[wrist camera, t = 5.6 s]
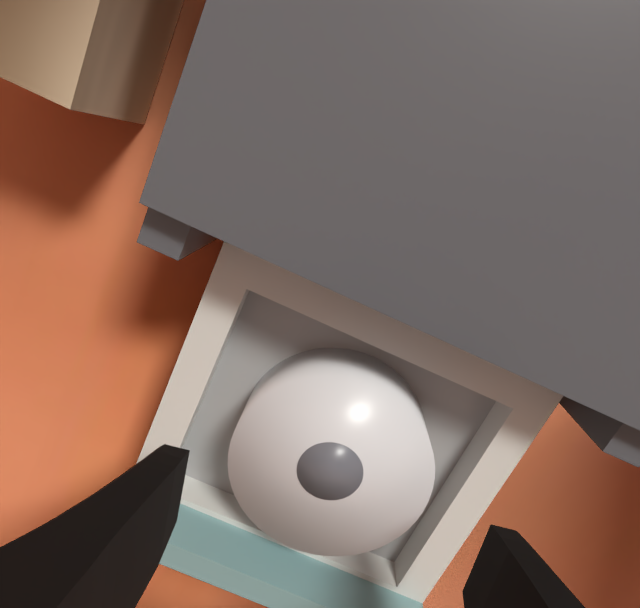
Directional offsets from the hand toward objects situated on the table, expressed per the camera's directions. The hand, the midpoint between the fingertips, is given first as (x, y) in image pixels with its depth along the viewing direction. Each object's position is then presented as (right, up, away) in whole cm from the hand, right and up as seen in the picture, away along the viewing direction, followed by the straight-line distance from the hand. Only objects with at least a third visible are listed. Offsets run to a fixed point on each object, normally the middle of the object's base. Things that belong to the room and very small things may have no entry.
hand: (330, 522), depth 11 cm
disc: (0, +1, +4) cm, 4 cm away
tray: (+1, +3, +4) cm, 5 cm away
